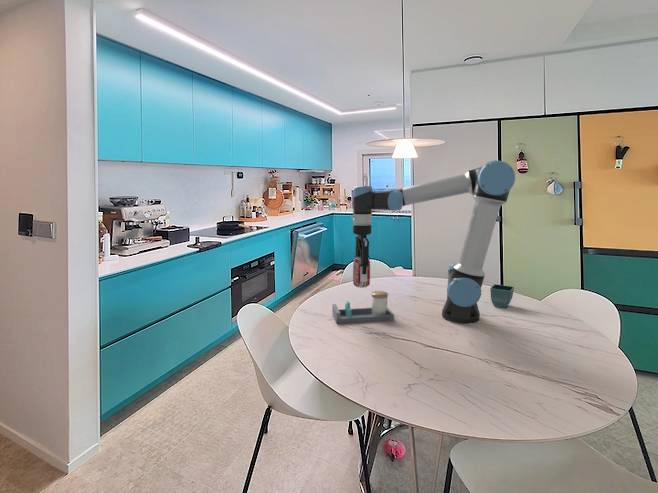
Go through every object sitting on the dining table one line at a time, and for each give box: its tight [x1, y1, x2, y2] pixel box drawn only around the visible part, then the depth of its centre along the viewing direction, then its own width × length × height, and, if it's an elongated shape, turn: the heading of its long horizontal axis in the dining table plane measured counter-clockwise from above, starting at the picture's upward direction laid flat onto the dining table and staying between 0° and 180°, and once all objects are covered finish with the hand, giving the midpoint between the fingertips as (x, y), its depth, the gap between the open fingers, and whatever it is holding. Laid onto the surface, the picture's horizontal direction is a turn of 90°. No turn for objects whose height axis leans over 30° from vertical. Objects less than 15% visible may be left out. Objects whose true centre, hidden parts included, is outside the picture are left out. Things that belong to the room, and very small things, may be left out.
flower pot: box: [489, 283, 515, 309], centre depth 169 cm, size 9×9×9 cm
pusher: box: [344, 300, 352, 317], centre depth 154 cm, size 1×8×7 cm, turn 8°
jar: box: [371, 290, 389, 316], centre depth 156 cm, size 7×7×10 cm
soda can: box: [352, 256, 371, 289], centre depth 152 cm, size 7×7×12 cm
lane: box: [331, 303, 395, 325], centre depth 155 cm, size 24×11×5 cm, turn 98°
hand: (361, 279), depth 153 cm, fingers closed on soda can, 7 cm apart
